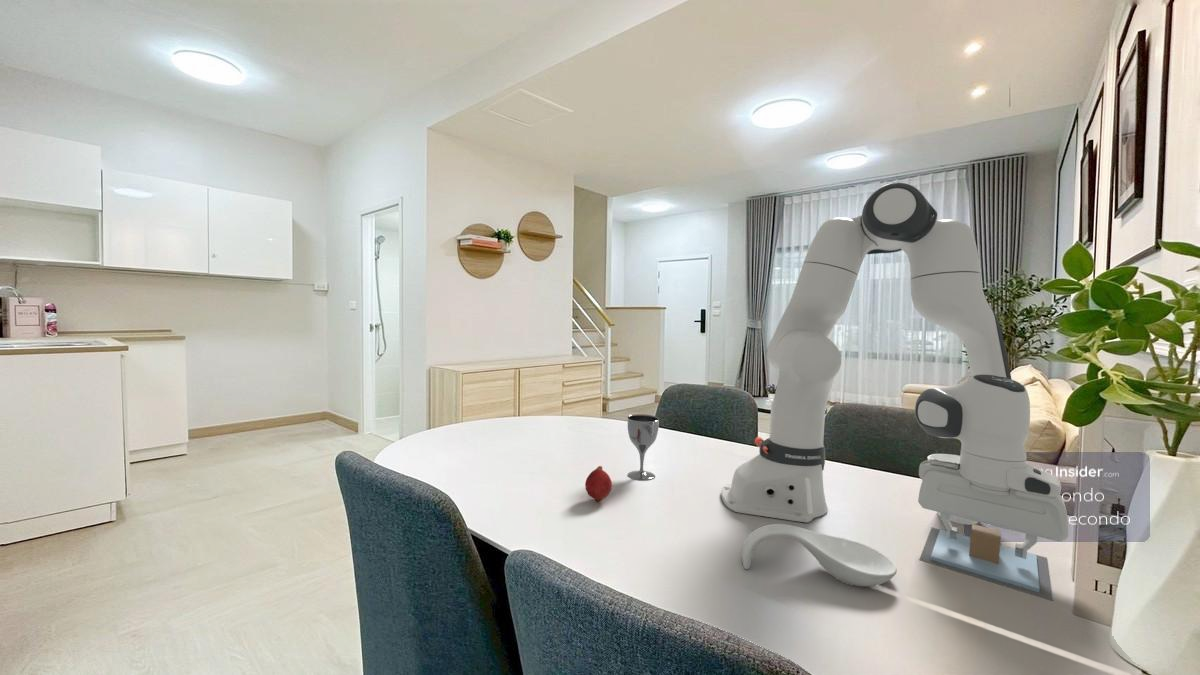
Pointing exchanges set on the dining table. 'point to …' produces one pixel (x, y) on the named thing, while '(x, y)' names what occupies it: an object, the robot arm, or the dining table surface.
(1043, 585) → the sheet mat
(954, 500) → the robot arm
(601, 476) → the onion
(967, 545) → the cover sheet
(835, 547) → the spoon rest
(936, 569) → the dining table surface
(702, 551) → the dining table surface
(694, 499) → the dining table surface
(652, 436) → the wine glass
